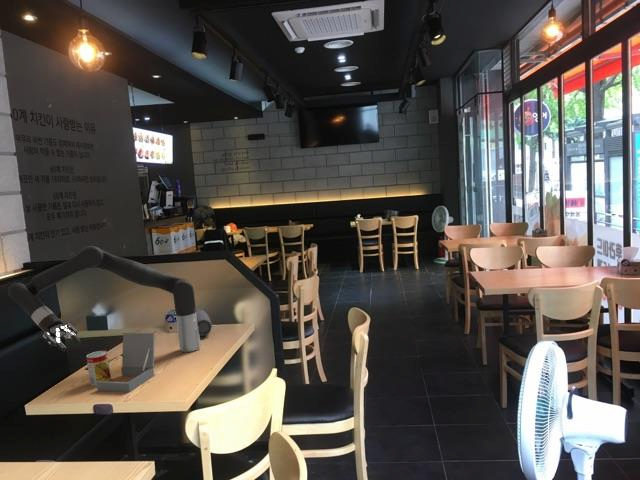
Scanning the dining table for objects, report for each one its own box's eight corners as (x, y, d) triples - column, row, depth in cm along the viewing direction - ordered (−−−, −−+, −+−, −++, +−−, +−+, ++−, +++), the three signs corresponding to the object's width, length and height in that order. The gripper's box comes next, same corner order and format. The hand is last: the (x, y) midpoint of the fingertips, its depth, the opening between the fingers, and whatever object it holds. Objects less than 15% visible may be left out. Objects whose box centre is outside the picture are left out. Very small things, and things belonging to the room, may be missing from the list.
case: (97, 390, 207) (91, 348, 205) (129, 371, 226) (124, 332, 223) (129, 392, 202) (123, 349, 200) (160, 372, 221) (154, 332, 219)
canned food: (115, 379, 217) (111, 351, 216) (99, 387, 210) (95, 358, 209) (102, 377, 221) (98, 350, 220) (86, 384, 214) (82, 356, 213)
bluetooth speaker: (191, 328, 284) (189, 310, 283) (209, 325, 287) (207, 307, 286) (195, 339, 263) (192, 320, 262) (213, 336, 266) (211, 317, 264)
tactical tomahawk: (93, 373, 230) (93, 371, 230) (84, 370, 233) (84, 368, 233) (134, 356, 247) (134, 354, 246) (125, 354, 250) (125, 351, 250)
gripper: (36, 318, 212) (63, 346, 210) (63, 308, 225) (89, 335, 223) (27, 330, 214) (54, 359, 212) (55, 320, 227) (80, 347, 225)
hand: (72, 346), depth 217 cm, fingers open, 7 cm apart
